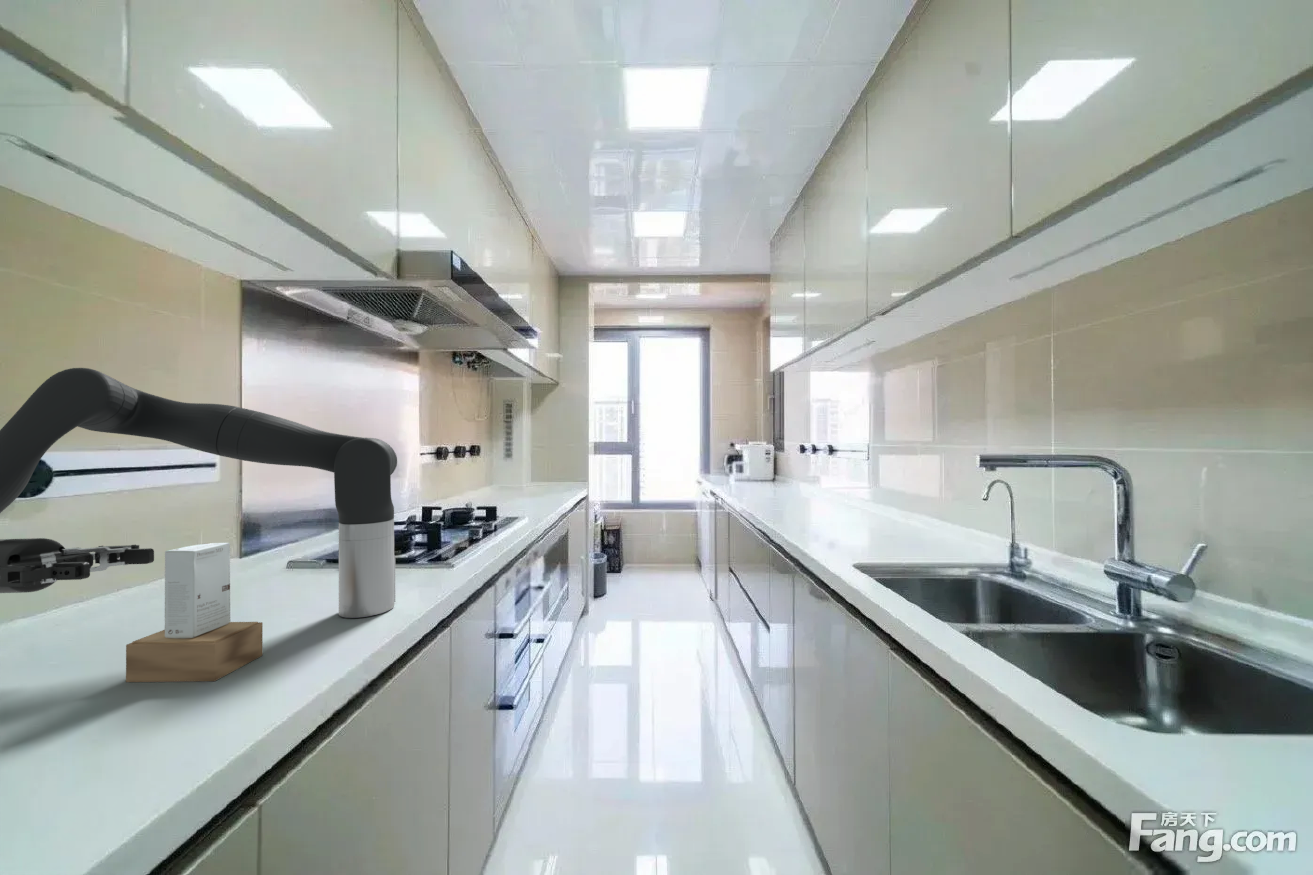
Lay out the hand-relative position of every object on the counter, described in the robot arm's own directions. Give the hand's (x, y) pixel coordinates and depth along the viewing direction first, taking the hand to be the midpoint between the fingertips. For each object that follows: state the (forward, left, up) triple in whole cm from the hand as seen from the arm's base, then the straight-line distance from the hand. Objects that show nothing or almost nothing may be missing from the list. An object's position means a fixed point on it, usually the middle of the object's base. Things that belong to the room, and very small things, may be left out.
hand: (121, 562), depth 70 cm
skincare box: (0, +11, -10) cm, 15 cm away
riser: (0, +11, -15) cm, 19 cm away
